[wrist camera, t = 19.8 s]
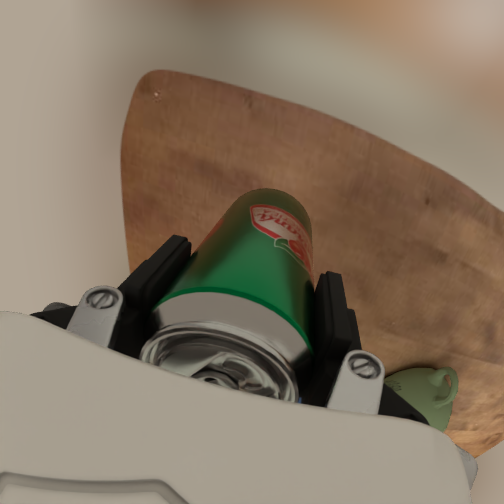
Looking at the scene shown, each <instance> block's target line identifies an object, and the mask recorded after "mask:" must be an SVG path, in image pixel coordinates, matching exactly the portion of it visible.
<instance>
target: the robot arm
mask: <svg viewBox="0 0 504 504" xmlns="http://www.w3.org/2000/svg"><path fill="white" fill-rule="evenodd" d="M190 256H191V242H188V239H187V238H186V237H182V236H178V235H173V236H172V237H170V238H169V239H168V240H167V241H166V242H165V243H164V244H163V245H162V246H161V247H160V248H159V249H158V250H157V251H156V252H155V253H154V254H153V255H152V256H151V257H150V258H149V259H148V260H145V261H144V262H143V263H142V264H141V265H140V266H139V267H138V268H137V269H136V270H135V271H134V272H133V273H132V274H131V275H130V276H129V277H128V278H127V279H126V280H125V281H124V282H123V283H122V284H121V285H120V286H119V287H118V288H117V289H116V288H114V287H110V286H97V287H94V288H91V289H89V290H88V291H86V292H85V294H84V295H83V297H82V299H81V301H80V302H79V304H78V306H71V307H66V308H60V309H54V310H49V311H43V312H37V313H33V314H30V315H26V314H22V313H17V312H9V311H1V312H0V504H472V500H471V494H470V490H471V487H472V485H473V482H474V480H475V477H476V475H477V470H478V466H477V462H476V460H475V458H474V457H473V456H472V455H471V454H469V453H468V452H466V451H465V450H463V449H462V448H460V447H459V446H457V445H456V444H454V442H453V441H452V440H451V439H450V438H449V437H448V436H447V435H446V434H444V433H443V432H441V431H439V430H437V429H436V428H433V427H431V426H430V425H429V422H428V421H427V419H426V418H425V417H424V416H423V415H422V414H421V413H420V412H419V411H418V410H416V409H415V408H414V407H413V406H412V405H410V404H409V403H408V402H407V401H405V400H404V399H403V398H402V397H401V396H399V395H398V394H397V393H396V392H395V391H393V390H392V389H391V388H390V387H389V386H387V385H386V384H385V383H384V376H385V368H384V365H383V363H382V362H381V361H380V359H379V358H378V357H376V356H375V355H374V354H372V353H370V352H367V351H364V350H362V348H361V342H360V337H359V331H358V326H357V321H356V316H355V312H354V310H353V309H348V308H347V303H346V298H345V292H344V287H343V282H342V276H341V274H338V273H334V272H329V271H327V272H326V274H322V273H321V275H320V278H319V281H318V284H317V287H316V290H315V292H314V303H315V369H314V373H313V377H312V379H311V381H310V383H309V385H308V387H307V388H306V389H305V390H304V392H303V393H302V394H301V395H300V396H299V397H300V398H301V404H300V403H295V402H289V401H284V400H279V399H274V398H270V397H265V396H261V395H256V394H252V393H248V392H243V391H239V390H235V389H231V388H227V387H224V386H220V385H216V384H212V383H209V382H205V381H202V380H198V379H195V378H192V377H188V376H185V375H182V374H179V373H176V372H173V371H169V370H166V369H163V368H160V367H158V366H155V365H152V364H149V363H146V362H143V361H140V360H139V358H140V352H141V349H142V346H143V326H144V322H145V319H146V317H147V314H148V313H149V311H150V310H151V308H152V307H153V306H154V304H155V303H156V301H157V300H158V299H159V297H160V296H161V295H162V293H163V292H164V291H165V289H166V288H167V287H168V285H169V284H170V283H171V282H172V280H173V279H174V278H175V276H176V275H177V274H178V272H179V271H180V270H181V268H182V267H183V266H184V265H185V263H186V262H187V261H188V259H189V258H190Z"/></svg>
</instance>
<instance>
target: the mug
mask: <svg viewBox="0 0 504 504" xmlns="http://www.w3.org/2000/svg"><path fill="white" fill-rule="evenodd" d="M446 374H448V375H449V376H450V380H451V387H449V385H448V383H447V381H446V379H445V378H444V376H445V375H446ZM384 383H385V384H386V385H387V386H389V387H390V388H391V389H392V390H393V391H395V392H396V393H397V394H398V395H399V396H401V397H402V398H403V399H404V400H405V401H407V402H408V403H409V404H410V405H412V406H413V407H414V408H415V409H416V410H418V411H419V412H420V413H421V414H422V415H423V416H424V417H425V418H426V419H427V421H428V422H429V425H430V426H431V427H433V428H436V429H437V430H439V431H441V432H444V431H445V429H446V428H447V425H448V422H449V419H450V415H451V412H452V404H453V402H452V401H453V400H454V399H455V396H456V394H457V392H458V377H457V374H456V371H454V370H453V369H452V368H451V367H443V368H440V369H438V370H434V369H432V368H411V369H407V370H403V371H399V372H397V373H395V374H393V375H391V376H389V377H387V378H385V379H384Z"/></svg>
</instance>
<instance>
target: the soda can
mask: <svg viewBox="0 0 504 504" xmlns="http://www.w3.org/2000/svg"><path fill="white" fill-rule="evenodd" d="M139 360H140V361H143V362H146V363H149V364H152V365H155V366H158V367H160V368H163V369H166V370H169V371H173V372H176V373H179V374H182V375H185V376H188V377H192V378H195V379H198V380H202V381H205V382H209V383H212V384H216V385H220V386H224V387H227V388H231V389H235V390H239V391H243V392H248V393H252V394H256V395H261V396H265V397H270V398H274V399H279V400H284V401H289V402H295V403H298V401H299V396H300V395H301V394H302V393H303V392H304V390H305V389H306V388H307V387H308V385H309V383H310V381H311V379H312V377H313V373H314V369H315V303H314V270H313V247H312V229H311V222H310V219H309V216H308V214H307V212H306V210H305V209H304V207H303V206H302V205H301V204H300V202H299V201H297V200H296V199H295V198H294V197H292V196H291V195H289V194H287V193H285V192H283V191H280V190H276V189H268V188H264V189H256V190H252V191H250V192H247V193H245V194H244V195H242V196H240V197H239V198H238V199H237V200H236V201H235V202H234V203H233V204H232V205H231V206H230V208H229V209H228V210H227V211H226V213H225V214H224V215H223V216H222V218H221V219H220V220H219V221H218V223H217V224H216V225H215V226H214V228H213V229H212V230H211V231H210V233H209V234H208V235H207V236H206V238H205V239H204V240H203V241H202V243H201V244H200V245H199V247H198V248H197V249H196V250H195V252H194V253H193V254H192V255H191V257H190V258H189V259H188V261H187V262H186V263H185V265H184V266H183V267H182V268H181V270H180V271H179V272H178V274H177V275H176V276H175V278H174V279H173V280H172V282H171V283H170V284H169V285H168V287H167V288H166V289H165V291H164V292H163V293H162V295H161V296H160V297H159V299H158V300H157V301H156V303H155V304H154V306H153V307H152V308H151V310H150V311H149V313H148V314H147V317H146V319H145V322H144V326H143V346H142V349H141V352H140V358H139Z"/></svg>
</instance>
